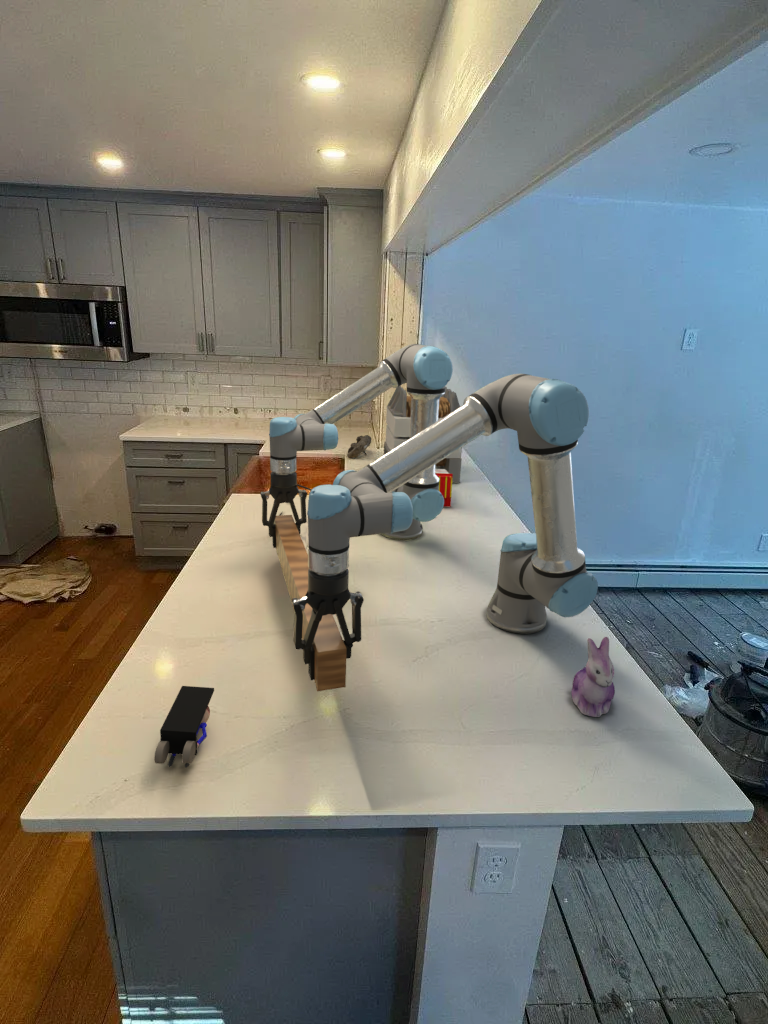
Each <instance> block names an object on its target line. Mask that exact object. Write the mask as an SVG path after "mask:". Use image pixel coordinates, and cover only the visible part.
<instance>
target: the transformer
mask: <svg viewBox="0 0 768 1024" xmlns="http://www.w3.org/2000/svg"><path fill="white" fill-rule="evenodd" d="M407 394H408V393H407V389H404V388H403V387H402V385H400V386H399V387H397V388H395V390H394V392H393V394H392V395H391V398H390V400H389V402H388V404H387V405H386V413H385V414H386V415H385V423H386V428H385V438H384V442H383V455H384V454H386V453H387V452H389V451H391V450H392V449H394V448H395V447H397V446H399V445H400V444H402V443H403V442H405V441H407V440H408V439H410V416H411V396H410V395H407ZM459 407H461V405H460V402H459V398H458V395H457V392H455V391H453V390H452V389H451V388H447V386H445V393H444V394H443V395H442V396H441V397H440V399H439V413H438V420H440V419H442V418H443V417H445V416H446V415H448V414H450V413H451V412H453V411H454V410H456V409H458V408H459ZM462 453H463V447H462V448H460V449H459V450H457V451H455V452H454V453H452V454H451V455H449V456H447V457H446V458H444V459H443V460H441V461H440V462H438V463H436V464H435V467H436V469H445V470H446V471H447V472H448V473H449V474H453V475H452V477H453V478H452V484H455V483H456V484H459V483H461V472H462V461H463V460H462Z"/></svg>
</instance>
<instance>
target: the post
mask: <svg viewBox="0 0 768 1024" xmlns="http://www.w3.org/2000/svg"><path fill="white" fill-rule="evenodd" d="M295 523H296V522H295V518H294V516H293V514H281V515H280V514H279V515H276V518H275V521H274V524H275V527H276V548H275V549H276V554H277V557H278V560H279V563H280V567H281V571H282V574H283V578H284V582H285V585H286V588H287V592H288V595H289V598H290V603H291V605H292V609H293V612H294V613H295V610H294V607H293V604H292V599H293V598H297V599H300V598H303V597H305V595H306V593H307V591H308V570H309V567H308V550H307V549H306V546H305V544H304V542H303V539H302V537H301V533H300V534H299V531H298V529H297V527H296V524H295ZM294 613H293V614H294ZM302 613H303V626H302V640H303V639H304V636H305V633H306V630H307V627H308V624H309V621H310V617H311V614H312V607H311V606H310V605H309V604H308V603H307V604H306V605H305V609H304V611H302ZM343 640H344V638H343V636H342V633H341V631H340V629H339V627H338V624H337V622H336V620H335V617H334V614H327V615H323V616H322V619H321V621H320V622H319V625H318V628H317V632H316V635H315V638H314V641H313V648H314V651H315V680H313V681H314V684H315V688H316V691H317V692H323V691H331V690H337V689H342V688H346V686H347V685H346V684H347V659H346V650H347V649H346V646H345V644H344V641H343Z"/></svg>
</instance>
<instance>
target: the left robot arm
mask: <svg viewBox="0 0 768 1024" xmlns="http://www.w3.org/2000/svg"><path fill="white" fill-rule="evenodd" d="M453 371H454V366H453V362H452V359H451V357H450V355H448V353H447V352H446V351H444V350H443V349H441V348H439V347H437V346H434V345H425V344H419V343H411V344H408V345H405V346H403V347H401V348H400V349H398V350H396V351H394V352H393V353H392V354H390V355H388V356H387V357H385V358H383V359H382V360H381V361H379V365H378V366H377V367H376V368H375V369H373V370H371V371H370V372H368V373H367V374H366V375H364V376H362V377H360V378H359V379H357V380H356V381H354V382H353V383H351V384H350V385H348V386H346V387H345V388H344V389H342V390H341V391H339V392H337V393H336V394H334V395H333V396H332V397H329V398H328V399H327V400H325V401H324V402H323V403H321V404H319V405H317V406H316V407H314V408H313V409H311V410H309V411H308V412H306V413H299V414H297V415H296V416H294V417H290V416H289V417H288V416H277V417H273V418H271V420H269V433H268V436H269V470H270V473H269V474H270V475H269V476H270V487H269V489H268V490H267V491H261V492H260V497H261V500H262V501H261V502H262V503H261V509H262V510H261V523H262V526H264V527H267V528H268V536H269V538H271V539H272V548H273V549H276V527H275V524H274V521H275V518H276V516H277V514H278V510H279V507H280V506H281V505H280V504H284V503H286V504H289V507H290V509H291V512H292V516H293V519H294V522H295V524H296V527H297V529H298V531H299V534H300V535H301V525H303V524H307V523H308V517H307V497H308V492H307V490H308V491H311V490H312V489H313V488H309V487H308V486H304V485H302V484H299V483H298V472H296V471H297V469H298V468H297V465H298V464H297V457H298V455H297V454H298V453H297V452H309V451H329V450H335V449H336V448H337V446H338V444H339V431H338V427H337V426H336V424H338V423H339V422H341V421H342V420H344V419H346V418H347V417H349V416H350V415H351V414H353V413H355V412H356V411H357V410H360V409H361V408H362V407H364V406H365V405H367V404H368V403H370V402H371V401H373V400H374V399H376V398H378V397H379V396H381V395H382V394H384V393H385V392H387V391H389V390H390V389H391V388H393V389H396V388H397V387H399V386H402V385H405V384H406V393H407V394H408V396H411V416H410V438H411V437H413V436H414V435H416V434H418V433H419V432H421V431H422V430H424V429H426V428H427V427H429V426H430V425H432V424H434V423H435V422H437V421H438V413H439V399H440V397H441V396H442V395H443V394H444V393H445V387H447V385H448V383H449V382H450V381H451V379H452V378H453V377H452V376H453V373H454V372H453ZM435 469H436V466H435V465H433V466H432V467H430V468H429V469H427V470H425V471H424V472H422V473H421V474H419V475H418V476H416V477H414V478H413V479H411V480H410V481H408V482H407V483H405V484H403V485H402V486H400V487H399V488H397V489H396V490H394V492H404V493H406V494H407V495H408V496H409V498H410V500H411V503H412V507H413V520H412V523H411V525H410V527H409V528H408V529H407V530H404V531H398V532H393V533H392V534H391V533H385V534H380V535H381V536H382V537H385V538H387V539H389V540H395V541H410V540H415V539H418V538H420V537H421V536H422V535H423V530H424V527H423V524H422V523H426V522H427V523H428V522H430V521H433V520H434V519H436V518H437V517H438V516H439V515H440V514H441V512H442V511H443V509H444V507H443V506H444V498H443V496H442V494H441V493H440V491H439V478H438V476H437V475H436V474H435ZM298 487H300V488H302V489H299V488H298ZM297 495H298V497H299V500H300V517H301V518H300V517H299V514H298V511H297V508H296V505H295V501H294V500H295V498H296V496H297ZM270 496H271V497H272V498H273V505H272V508H271V511H270V514H269V518H268V500H269V498H270Z"/></svg>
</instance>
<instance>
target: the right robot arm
mask: <svg viewBox="0 0 768 1024" xmlns="http://www.w3.org/2000/svg"><path fill="white" fill-rule="evenodd" d="M462 403H463V404H462V405H460V407H459V408H458V409H456V410H454V411H453V412H451V413H450V414H448V415H446V416H445V417H443V418H442V419H440V420H438V421H437V422H435V423H434V424H432V425H430V426H429V427H427V428H426V429H424V430H422V431H421V432H419V433H418V434H416V435H414V436H413V437H411V438H410V439H408V440H407V441H405V442H403V443H402V444H400V445H399V446H397V447H395V448H394V449H392V450H391V451H389V452H387V453H386V454H384V453H383V455H381V456H379V457H378V458H376V459H374V460H373V461H372V462H370V463H368V464H366V465H365V466H364V467H362V468H360V469H359V470H354V469H347V470H343V471H341V472H339V473H338V474H337V476H336V477H335V478H334V480H333V483H332V484H328V483H327V484H320V485H317V486H315V487H313V488H311V489H312V490H311V491H310V490H309V491H310V492H309V494H308V499H307V500H308V501H307V510H306V516H307V536H308V541H307V542H308V543H307V544H308V545H307V553H308V567H309V570H308V591H307V593H306V595H305V597H303V598H300V599H297V598H293V599H292V602H291V605H292V604H293V606H292V608H293V607H294V609H293V611H294V610H295V613H293V615H294V616H293V639H292V641H293V644H294V649H295V650H297V651H299V650H302V659H303V662H304V665H307V666H308V669H307V671H308V675H309V676H308V677H309V679H310V681H314V680H315V651H314V648H313V641H314V638H315V635H316V632H317V628H318V625H319V622H320V621H321V619H322V616H323V615H327V614H332V615H335V616H336V619H337V622H338V625H339V628H340V632H341V635H342V638H343V641H344V644H345V646H346V649H347V650H346V660H348V659H351V658H352V648H353V647H354V643H360V642H361V641H362V607H363V604H364V601H365V598H364V597H363V595H362V593H361V592H360V591H355V592H351V591H350V590H349V573H350V572H349V571H350V570H349V567H350V542H351V541H350V540H351V538H358V537H359V538H360V537H364V536H375V535H381V534H385V533H391V534H392V533H393V532H398V531H404V530H407V529H408V528H409V527H410V525H411V523H412V520H413V507H412V503H411V500H410V498H409V496H408V495H407V494H406V493H404V492H394V490H396V489H397V488H399V487H400V486H402V485H403V484H405V483H407V482H408V481H410V480H411V479H413V478H414V477H416V476H418V475H419V474H421V473H422V472H424V471H425V470H427V469H429V468H430V467H432V466H433V465H435V464H436V463H438V462H440V461H441V460H443V459H444V458H446V457H447V456H449V455H451V454H452V453H454V452H455V451H457V450H459V449H460V448H462V449H463V448H464V447H465V446H467V445H468V444H470V443H471V442H473V441H474V440H476V439H477V438H479V437H480V436H481V437H482V436H483V437H489V436H491V435H493V434H494V433H496V432H498V431H500V430H507V429H509V430H513V431H516V434H517V442H518V450H519V452H520V453H522V454H523V455H524V456H526V457H527V465H528V474H529V484H530V493H531V503H532V512H533V522H534V532H535V533H533V532H518V533H517V532H516V533H512V534H508V535H507V536H505V537H504V538H503V540H502V546H501V547H500V555H499V556H500V557H499V566H498V574H497V582H496V589H495V590H494V592H493V594H492V596H491V598H490V600H489V602H488V605H487V607H486V613H485V614H486V618H487V620H488V622H490V624H492V625H493V626H495V627H496V628H499V629H500V630H502V631H505V632H508V633H509V632H510V633H515V634H522V635H525V634H526V635H527V634H535V633H539V632H540V631H543V629H544V628H545V627H546V625H547V620H548V615H547V614H548V613H547V609H548V610H549V611H550V612H551V613H554V614H556V615H557V616H560V617H562V618H573V617H576V616H578V615H580V614H582V613H583V612H584V611H585V610H587V609H588V608H589V607H590V605H591V604H592V603H593V602H594V600H595V598H596V596H597V593H598V589H599V583H598V579H597V578H596V577H595V576H594V574H593V573H591V572H588V571H587V567H586V566H587V565H586V563H587V562H586V555H585V552H584V551H583V550H582V549H581V548H579V547H578V538H577V523H576V509H575V495H574V493H575V492H574V481H573V480H574V479H573V466H572V451H573V450H574V449H575V448H576V447H577V446H578V444H579V439H580V438H581V437H582V436H583V434H584V433H585V429H584V428H585V427H587V426H588V424H589V417H590V409H589V407H590V406H589V404H588V400H587V398H586V396H585V395H584V393H583V392H582V390H581V389H579V388H578V387H577V386H575V384H571V383H569V382H566V381H564V380H561V379H557V378H547V377H541V376H537V375H532V374H528V373H513V374H509V375H505V376H503V377H501V378H498V379H496V380H494V381H492V382H489V383H487V384H486V385H484V386H483V387H480V388H479V389H478V390H476V391H474V392H473V393H471V394H469V395H467V396H466V397H465V398H464V399H463V402H462ZM348 601H350V603H351V631H352V632H351V633H350V631H349V627H348V625H347V621H346V618H345V614H344V611H343V608H344V607H345V605H347V603H348ZM307 603H308V604H309V605H310V606H311V607H312V614H311V617H310V621H309V624H308V627H307V630H306V633H305V636H304V639H303V640H302V626H303V613H302V611H304V609H305V605H306V604H307Z"/></svg>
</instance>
